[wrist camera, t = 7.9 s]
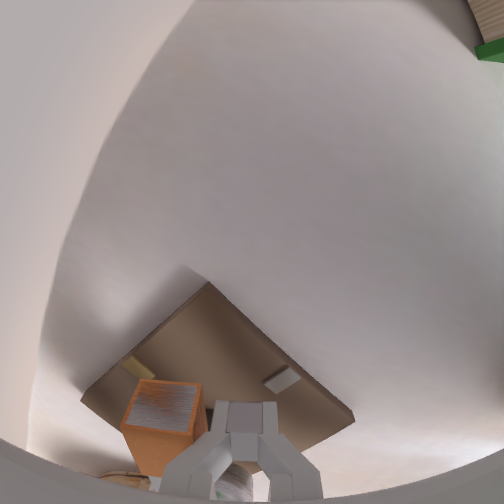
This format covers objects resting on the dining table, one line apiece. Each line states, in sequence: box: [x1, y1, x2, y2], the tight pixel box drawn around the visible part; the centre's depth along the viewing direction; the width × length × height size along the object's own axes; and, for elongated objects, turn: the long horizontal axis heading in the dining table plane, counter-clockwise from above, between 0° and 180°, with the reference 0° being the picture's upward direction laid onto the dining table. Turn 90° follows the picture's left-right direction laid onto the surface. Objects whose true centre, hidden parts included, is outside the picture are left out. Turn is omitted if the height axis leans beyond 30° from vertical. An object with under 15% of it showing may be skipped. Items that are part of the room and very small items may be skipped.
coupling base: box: [80, 282, 356, 475], centre depth 18 cm, size 15×15×6 cm
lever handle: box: [120, 378, 253, 502], centre depth 12 cm, size 13×6×4 cm, turn 0°
